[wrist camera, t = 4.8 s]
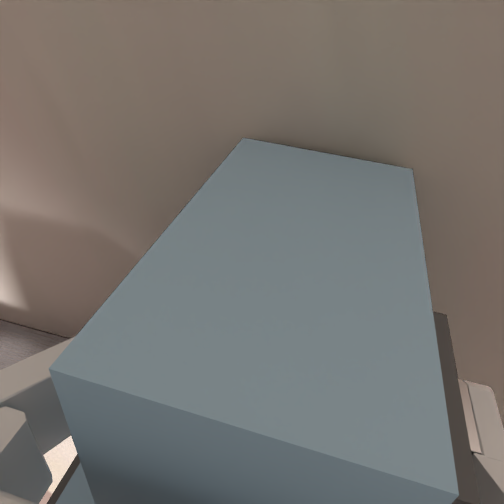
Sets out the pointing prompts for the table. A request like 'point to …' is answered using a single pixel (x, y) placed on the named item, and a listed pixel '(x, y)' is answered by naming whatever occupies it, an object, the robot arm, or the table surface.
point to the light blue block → (274, 349)
